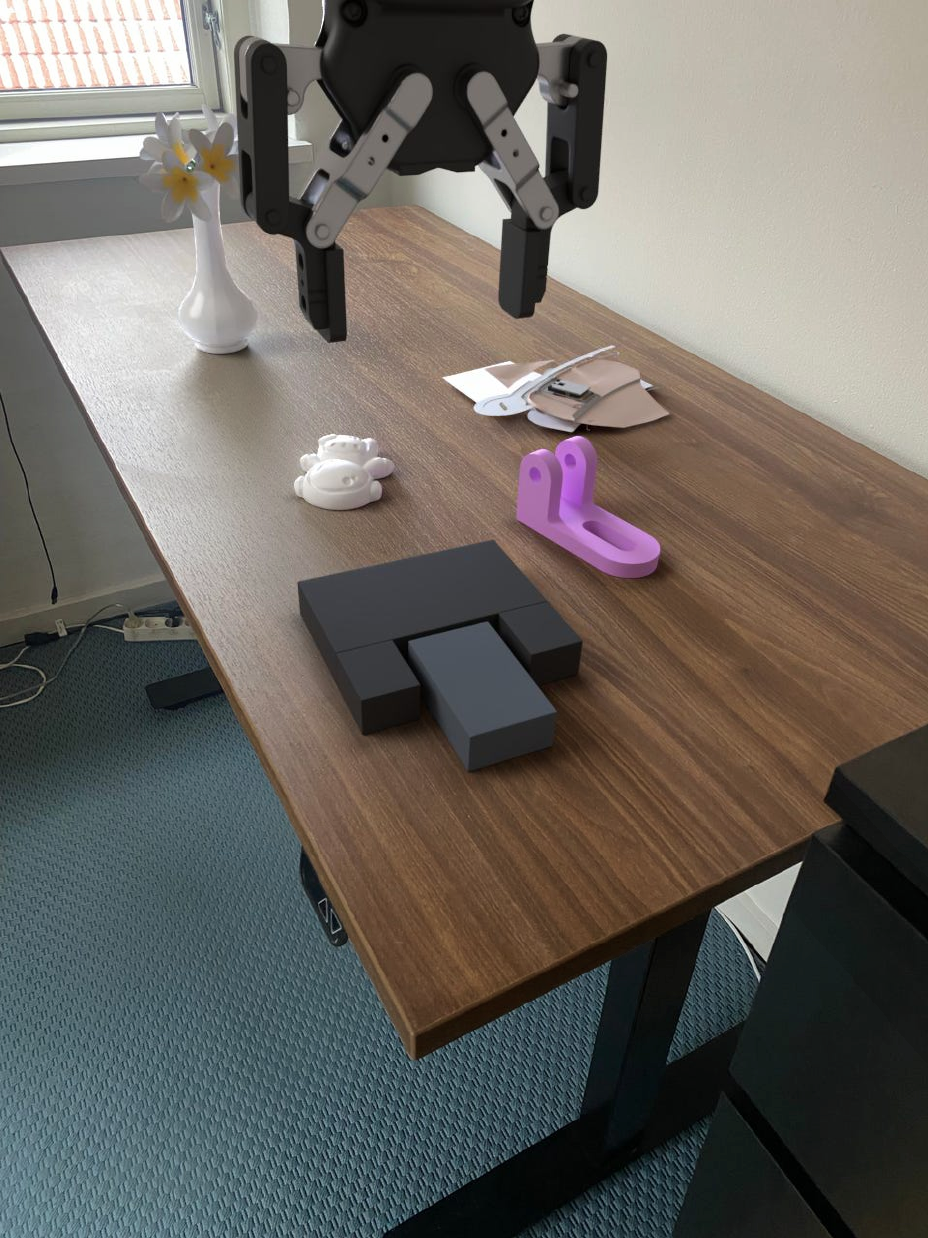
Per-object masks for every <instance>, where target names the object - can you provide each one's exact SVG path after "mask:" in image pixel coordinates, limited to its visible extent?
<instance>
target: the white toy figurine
mask: <svg viewBox="0 0 928 1238" xmlns="http://www.w3.org/2000/svg"><path fill="white" fill-rule="evenodd" d="M317 443H318V445H319V446H318V449H317V453H311V454H310V453H306V454H304V455H302V456H301V457H300V460H299V463H300V466H301V468H302V470H303V471H304V472H305V473H306V474H305V476H304V475H300V476H298V477H297V478H296V479H295V481H294V482H293V488H294V493H295V495H296V496H297V497H299V498H301V499H302V498H303V500H305V501H306V503H309V504H310V505H312V506H314V507H317V508H321V509H325V510H330V511H331V510H332V511H347V510H354V509H357V508H361V507H363V506H365V505H367V504H369V503H372V502H376V501H379V500H380V499H381V497H382V494H383V486H382V484H381V483H380V482H379V481H378V480H379V479H382V478H383V479H384V478H385V477H388V476H389V475H391V474H392V473H393V472H394V470H395V464H394V462H393V461H392V460H391V459H388V458H386V457H380V456H379V444H378V442H377V440H375V439H374V438H370V437H369V438H365V439H362V438H360V437H358V436H353V435H340V434H339V435H337V434H335V433H331V434H330V435H329V434H327V435H325V436H323V437H320V438H319V439H318V441H317Z"/></svg>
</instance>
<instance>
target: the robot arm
mask: <svg viewBox="0 0 928 1238" xmlns="http://www.w3.org/2000/svg"><path fill="white" fill-rule="evenodd" d="M534 3H535V0H322V7H323V8H322V9H323V10H322V11H323V13H322V14H323V15H322V22H321V28H320V30H319V34H318V36H317V38H316V41H315V43H314V45H307V44H292V43H277V42H276V43H274V42H271V41H269V40H267V39H264V38H262V37H259V36H254V35H245V36H242V37H240V38H239V39H238V41H236V44H235V46H234V50H233V65H234V66H233V67H234V86H235V88H234V90H235V104H236V105H235V108H236V109H235V111H236V117H237V133H238V134H237V141H238V155H239V174H238V175H239V176H238V177H239V188H240V197H239V199H240V206H241V208H242V212H244V214H245V215H246V216H248V217H249V218H250V219H251V220H253V222H255V223H256V225H257V227H259V229H261V231H263V232H264V233H265V234H266V235H267V234H268V235H270V236H276V235H280V236H283V237H287V238H290V239H292V240H293V243H294V248H295V249H294V250H295V262H296V263H295V264H296V276H297V278H296V279H297V292H298V305H299V309H300V311H301V313H302V316H303V317H304V319H305V320H306V321H307V322H308V324H309V325H310V326H311V327H312V328H313V329H314V330H315V331H317V332H318V334H319V335H320V336H321V337H322V338H323V339H324V340H325V341H326V342H327V343H328V344H333V343H343V342H346V341H347V338H348V326H347V307H346V306H347V303H346V302H347V301H346V278H345V277H346V275H345V253H344V248H342V246H341V245H339V244H338V243H337V242H336V240H337V238H338V237H339V236H340V233H341V232H342V230H343V229H344V227H345V225H346V224H347V222H348V220H349V219H350V217H351V216H352V214H353V212H354V210H355V209H356V207H357V206H358V205H359V203H360V202H361V201H363V200H365V199H367V198H368V197H369V196H370V194H372V192H373V190H374V189H375V188H376V186H377V184H378V182H379V181H380V179H381V178H382V176H383V174H384V172H385V171H386V170H387V171H390V172H392V173H393V174H396V175H397V176H399V177H407V176H420V175H423V174H426V173H428V172H430V171H431V172H432V171H434V170H436V169H441V170H445V171H449V172H453V173H456V174H457V173H459V174H460V173H473V172H476V167H478V168H479V169H480V170H481V171H482V173H484V175H486V176H487V178H489V180H490V182H491V183H492V185H493V187H494V188H495V191H496V192H497V194H498V195H499V197H500V198H501V200H502V202H503V203H504V205H505V207H506V208H507V210H508V211H509V212H510V218H502V221H501V239H500V241H501V242H500V257H499V258H500V259H499V273H498V274H499V276H498V290H497V291H498V294H497V300H498V304H499V307H500V309H501V310H503V311H504V312H505V313H506V314H508V315H509V316H511V318H513V319H515V320H520V319H528V318H529V319H530V318H533V316H534V314H535V311H536V304H540V303H541V302H542V301H543V298H544V296H545V293H546V291H547V281H548V277H547V276H548V269H549V268H548V266H549V259H550V247H551V237H552V236H551V235H552V231H553V227H554V225H555V224H556V222H557V220H559V219H560V218H561V217H562V216H564V215H566V214H568V213H569V212H572V211H574V210H576V209H580V210H587V209H589V208H591V207H592V206H593V205H594V204H595V202H596V201H597V199H598V197H599V191H600V175H601V173H600V172H601V161H602V160H601V159H602V145H603V144H602V143H603V128H604V113H605V112H604V111H605V97H606V85H607V83H606V82H607V69H608V68H607V67H608V51H607V48H606V46H605V44H604V43H603V42H602V41H599V40H597V39H596V40H595V39H591V38H587V37H582V36H578V35H573V34H568V33H561V34H558V35H556V36H555V37H554V38H553V40H552V41H551V42H538V43H537V42H536V40H535V37H534V33H533V29H532V27H533V26H532V10H533V6H534ZM536 80H537V82H538V88H539V94H540V96H541V98H542V99H543V100H544V101H545V102H547V106H546V131H545V132H546V133H545V134H546V135H545V136H546V137H545V162H544V163H545V164H544V165H545V167H544V168H545V169H544V176H543V175H542V174H541V171H540V170H539V168H540V167H541V165H540V163H539V160H538V158H537V157H536V154H535V153H534V151H533V149H532V147H531V146H530V144H529V142H528V140H527V138H526V137H525V135H524V132H523V131H522V129H521V128H520V125H519V124H518V122H517V120H516V118H515V116H516V114H517V112H518V110H519V109H520V107H521V105H522V104H523V102H524V101H525V100H526V98H527V97H528V95H529V93H530V91H531V90H532V88H533V87H534V85H535V83H536ZM315 81H316V83H317V84H318V86H319V88H320V89H321V91H322V92H323V94H324V96H325V97H326V98H327V100H328V101H329V103H330V104H331V106H332V107H333V108H334V110H335V111H336V113H337V115H338V117H337V118H336V119H335V122H334V123H333V125H332V127H331V128H330V130H329V132H328V134H327V135H326V137H325V139H324V141H323V142H322V144H321V146H320V147H319V149H318V151H317V152H316V154H315V156H314V160H313V167H312V169H311V171H310V173H309V175H308V177H307V178H306V180H305V182H304V184H303V185H302V187H301V188H300V190H299V191H298V193H297V195H296V197H293V196H290V166H289V165H290V163H289V161H290V160H289V159H290V158H289V157H290V156H289V153H290V152H289V116H292V115H295V114H296V113H298V112H299V111H300V110H301V108H302V107H303V104H304V101H305V93H306V90H307V89H308V88H309V85H310V84H311V83H313V82H315Z"/></svg>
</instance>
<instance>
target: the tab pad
mask: <svg viewBox="0 0 928 1238" xmlns="http://www.w3.org/2000/svg"><path fill="white" fill-rule="evenodd" d="M408 666H409V668H410V669H411V671H412V672H413V674H414V676H415V677H416V679H417V681H418V682H419V684H420V697H421V698H422V699H423V701H424V702H425V705H427V707H428V709H429V711H430V713H431V714H432V716H433V718H434V719H435V720H436V723H437V724H438V726H439V727H440V729H441V730H442V732H443V733H444V735H445V737H446V738H447V740H448V742H449V743H450V745H451V747H452V748H453V750H454V752H455V753H456V754H457V757H458V758H459V759H460V762H461V763H462V765H463V766H464V768H465V770H466V772H473V771H476V770H479V769H481V768H486V767H489V766H491V765H495V764H498V763H501V762H505V761H508V760H511V759H515V758H518V757H521V756H524V755H528V754H530V753H533V752H538V751H540V750H544V749H547V748H550V747H553V745H554V738H555V732H556V723H557V718H558V717H557V716H558V710H557V709H556V708H555V706H553V704H552V703H551V702H550V700H549V699H548V698H547V696H546V695H545V694H544V692H543V691H542V690H541V689H540V687H539V685H538V686H537V685H536V683H535V682H534V681H533V680H532V678H531V677H530V676H529V674H528V673H527V672H526V670H525V669H524V668H523V667H522V665H521V664H520V663H519V661H518V660H517V659H516V657H515V656H514V655H513V654H512V652H511V651H510V650H509V648H508V647H507V646H506V644H505V643H504V642H503V640H502V639H501V638H500V637H499V635H498V634H497V633H496V631H495V630H494V629H493V627H492V626H491V625H490V624H489V622H484V623H480V624H476V625H472V626H468V627H464V628H459V629H455V630H451V631H447V632H443V633H439V634H435V635H431V636H427V637H423V638H419V639H415V640H411V641H408Z"/></svg>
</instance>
